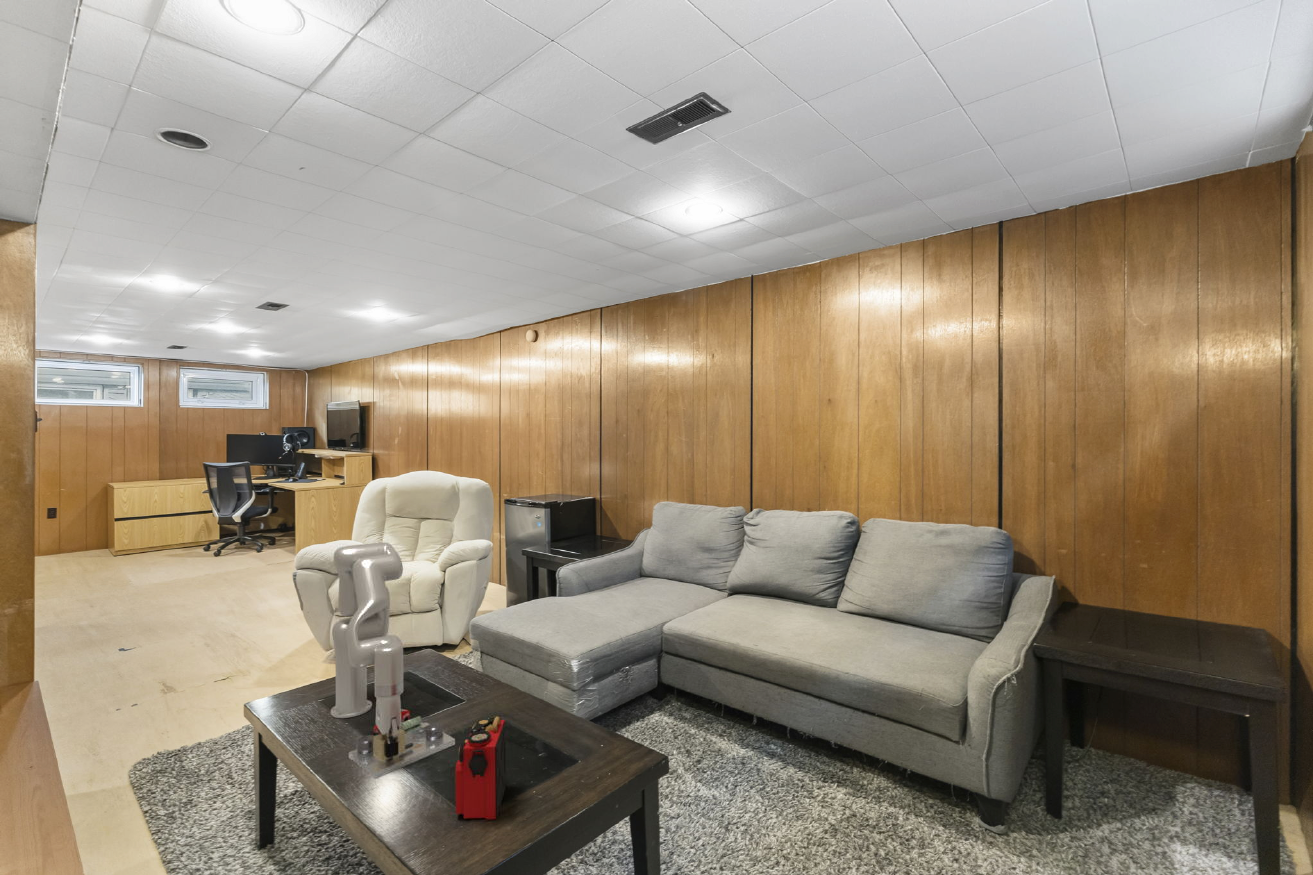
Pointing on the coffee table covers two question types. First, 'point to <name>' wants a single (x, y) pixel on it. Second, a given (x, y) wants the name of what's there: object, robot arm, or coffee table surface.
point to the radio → (482, 770)
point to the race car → (404, 717)
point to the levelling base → (424, 744)
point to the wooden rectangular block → (380, 745)
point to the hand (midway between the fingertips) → (389, 750)
